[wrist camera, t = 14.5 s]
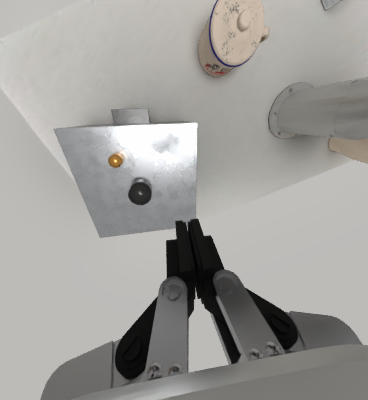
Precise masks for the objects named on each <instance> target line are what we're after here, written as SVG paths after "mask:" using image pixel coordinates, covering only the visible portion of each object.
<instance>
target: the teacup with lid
mask: <svg viewBox="0 0 368 400" xmlns="http://www.w3.org/2000/svg"><path fill="white" fill-rule="evenodd" d="M269 31H270V30H269V27H267V26H264V10H263V5H262V2H261V0H217V1H216V3H215V5H214V7H213V10H212V13H211V17H210V18H209V20H208V22H207V24H206V26H205V28H204V30H203V32H202V34H201V37H200V40H199V46H198V55H199V60H200V63H201V65H202V67H203V69H204V70H205V71H206V72H207V73H208V74H209V75H211V76H216V77H218V76H222V75H224V74H226V73H227V72H229V71H230V70H232V69H233V68H235V67H237V66H240V65H242V64H244V63H245V62H247V61H248V60H249V59H250V58H251V56H252V55H253V54H254V52H255V51H256V49H257V47H258V45H259V43H261V42H263V41H264V40H266V39H267V38H268V36H269Z"/></svg>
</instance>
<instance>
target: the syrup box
mask: <svg viewBox="0 0 368 400" xmlns="http://www.w3.org/2000/svg"><path fill="white" fill-rule="evenodd" d="M321 1H322V3H323V6H324V8H325V10H327V9H329V8H330V7H332V6H333V5H335V4H337V3H338V2H340V1H341V0H321Z"/></svg>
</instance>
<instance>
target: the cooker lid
mask: <svg viewBox="0 0 368 400" xmlns="http://www.w3.org/2000/svg"><path fill="white" fill-rule="evenodd" d="M54 132H55V134H56V136H57V139H58V141H59V143H60V146H61V148H62V150H63V153H64V155H65V157H66V160H67V162H68V164H69V167H70V169H71V171H72V174H73V176H74V178H75V181H76V183H77V185H78V188H79V190H80V192H81V195H82V197H83V199H84V201H85V204H86V206H87V209H88V211H89V213H90V216H91V218H92V220H93V222H94V225H95V227H96V229H97V232H98V234H99V236H100V238H103V237H110V236H118V235H126V234H134V233H142V232H149V231H157V230H165V229H173V228H176V224H175V221H179V220H183V222H186V226H187V227H188V222H189V221H190V220H191V219H196V171H197V123H177V124H153V125H128V126H104V127H80V128H58V129H54Z"/></svg>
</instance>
